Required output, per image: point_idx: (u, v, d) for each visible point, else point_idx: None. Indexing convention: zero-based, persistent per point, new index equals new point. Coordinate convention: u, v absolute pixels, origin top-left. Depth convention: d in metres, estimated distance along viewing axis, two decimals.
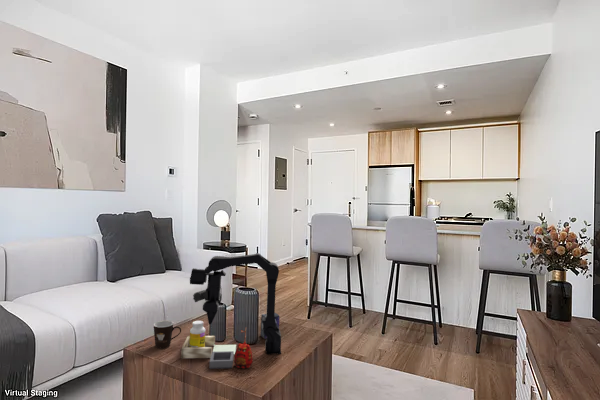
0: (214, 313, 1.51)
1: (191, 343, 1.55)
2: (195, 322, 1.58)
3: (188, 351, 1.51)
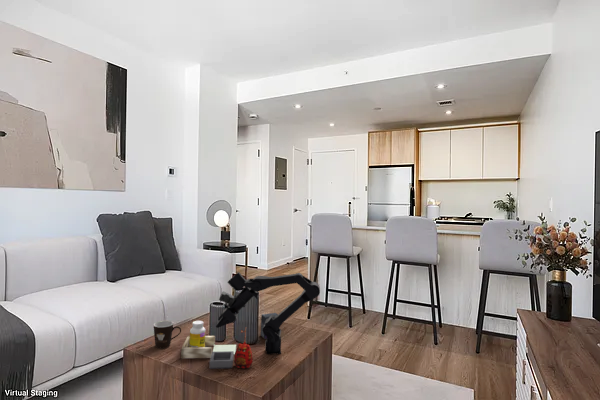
0: (227, 322, 1.53)
1: (191, 343, 1.55)
2: (195, 322, 1.58)
3: (188, 351, 1.51)
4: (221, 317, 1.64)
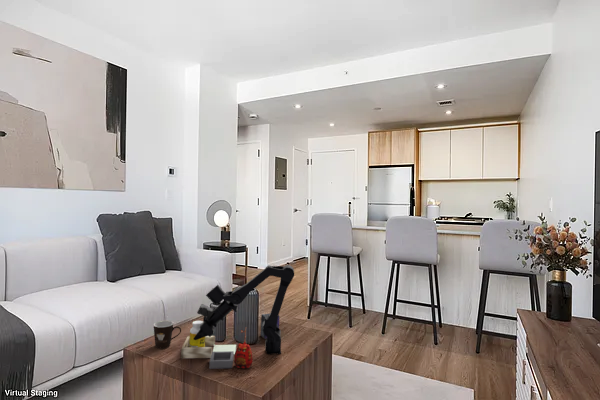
0: (205, 335, 1.53)
1: (191, 343, 1.55)
2: (195, 322, 1.58)
3: (188, 351, 1.51)
4: None
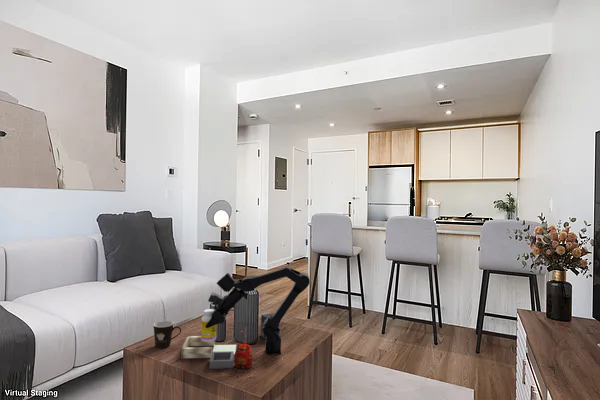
0: (216, 322, 1.54)
1: (203, 331, 1.56)
2: (206, 310, 1.58)
3: (188, 351, 1.51)
4: None
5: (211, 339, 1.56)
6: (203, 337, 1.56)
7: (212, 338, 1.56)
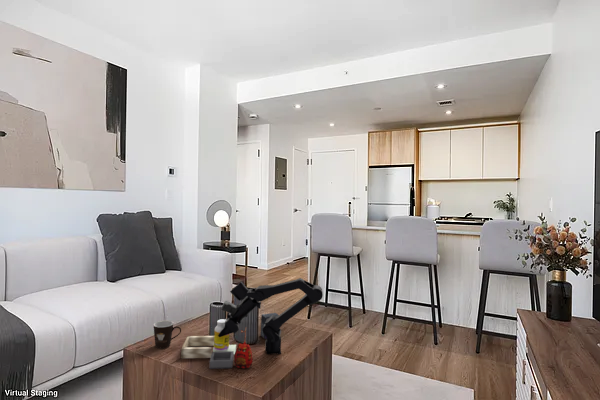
0: (229, 332, 1.54)
1: (216, 341, 1.57)
2: (219, 321, 1.59)
3: (188, 351, 1.51)
4: None
5: (224, 349, 1.57)
6: (216, 347, 1.57)
7: (225, 348, 1.57)
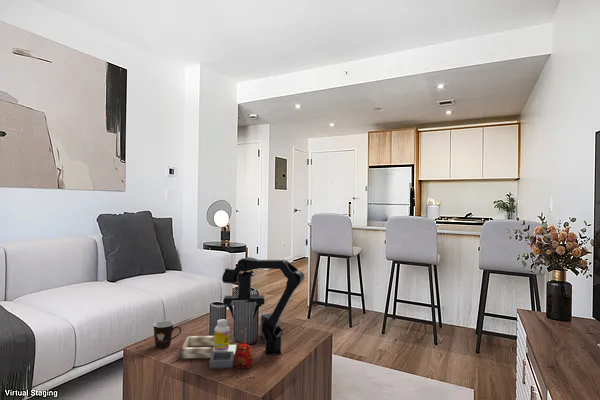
0: None
1: (216, 341, 1.57)
2: (219, 321, 1.59)
3: (188, 351, 1.51)
4: (253, 314, 1.65)
5: (224, 349, 1.57)
6: (216, 347, 1.57)
7: (225, 348, 1.57)
